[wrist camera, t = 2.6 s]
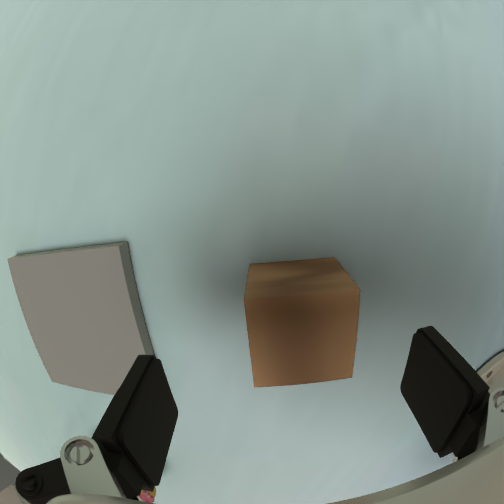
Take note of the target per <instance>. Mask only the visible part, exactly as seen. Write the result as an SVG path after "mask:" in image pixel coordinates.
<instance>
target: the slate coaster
mask: <svg viewBox="0 0 504 504" xmlns="http://www.w3.org/2000/svg"><path fill="white" fill-rule="evenodd" d="M8 263H9V267H10V271H11V275H12V279H13V283H14V286H15V290H16V293H17V296H18V300H19V303H20V306H21V309H22V312H23V315H24V318H25V320H26V323H27V326H28V329H29V331H30V334H31V336H32V339H33V341H34V344H35V346H36V348H37V351H38V353H39V355H40V357H41V360H42V362H43V364H44V366H45V368H46V370H47V372H48V374H49V376H50V378H51V380H52V382H55V383H59V384H63V385H67V386H71V387H76V388H80V389H85V390H90V391H95V392H100V393H105V394H111V395H115V394H116V392H117V390H118V389H119V388H120V386H121V384H122V383H123V381H124V379H125V377H126V375H127V374H128V372H129V370H130V368H131V367H132V365H133V363H134V361H135V360H136V358H137V356H138V355H154V352H153V349H152V345H151V342H150V338H149V335H148V331H147V328H146V324H145V320H144V316H143V312H142V308H141V304H140V300H139V296H138V292H137V287H136V283H135V278H134V273H133V268H132V263H131V258H130V253H129V247H128V242H119V243H110V244H101V245H93V246H84V247H76V248H67V249H59V250H51V251H44V252H36V253H28V254H21V255H16V256H13V257H11V258H9V259H8ZM154 356H155V355H154Z"/></svg>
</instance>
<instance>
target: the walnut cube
mask: <svg viewBox="0 0 504 504" xmlns="http://www.w3.org/2000/svg"><path fill="white" fill-rule="evenodd" d="M359 302H360V288H359V287H358V285H357V284H356V283H355V282H354V280H353V279H352V278H351V277H350V276H349V274H348V273H347V272H346V271H345V270H344V268H343V267H342V266H341V265H340V264H339V262H338V261H337V260H336V259H335V258H334V257H333V258H321V259H309V260H297V261H284V262H271V263H258V264H250V265H249V271H248V278H247V284H246V290H245V296H244V304H245V312H246V321H247V330H248V339H249V347H250V356H251V364H252V372H253V381H254V387H271V386H285V385H297V384H307V383H316V382H324V381H332V380H339V379H346V378H352V374H353V366H354V358H355V349H356V340H357V329H358V317H359Z"/></svg>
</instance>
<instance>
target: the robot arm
mask: <svg viewBox="0 0 504 504" xmlns="http://www.w3.org/2000/svg"><path fill="white" fill-rule="evenodd" d="M401 393H402V395H403V397H404V399H405V400H406V402H407V404H408V406H409V407H410V409H411V411H412V413H413V414H414V416H415V418H416V420H417V422H418V424H419V425H420V427H421V429H422V431H423V433H424V435H425V436H426V438H427V440H428V442H429V444H430V446H431V448H432V450H433V451H434V452H436V453H438V455H439V457H440V458H441V457H444V456H446V455H448V454H450V453H452V452H453V453H454V455H455V456H454V460H453V463H452V464H450V465H447V466H445V467H443V468H441V469H439V470H436V471H434V472H432V473H429V474H427V475H425V476H422V477H420V478H417V479H415V480H412V481H409V482H407V483H404V484H401V485H398V486H395V487H392V488H389V489H386V490H382V491H379V492H375V493H372V494H368V495H365V496H361V497H357V498H352V499H348V500H343V501H339V502H333V503H328V504H504V351H503V352H501V353H500V354H498V355H497V356H495V357H494V358H492V359H491V360H490V361H489V362H487V363H486V364H485V365H484V366H483V367H482V368H481V369H480V370H479V371H478V372H476V371H475V370H474V369H473V368H472V367H471V366H470V365H469V363H468V362H467V361H466V360H465V359H464V358H463V357H462V356H461V355H460V354H459V353H458V352H457V351H456V350H455V349H454V347H453V346H452V345H451V344H450V343H449V342H448V341H447V340H446V339H445V338H444V337H443V336H442V335H441V334H440V333H439V332H438V331H437V330H436V329H435V328H434V327H433V326H428V327H424V328H420V329H418V330H417V332H416V333H415V334H414V335H413V339H412V343H411V348H410V352H409V356H408V360H407V364H406V368H405V372H404V375H403V379H402V382H401ZM177 418H178V409H177V406H176V403H175V401H174V398H173V395H172V393H171V390H170V387H169V384H168V381H167V378H166V375H165V372H164V369H163V366H162V363H161V361H160V359H156V357H155V356H154V355H138V356H137V358H136V360H135V361H134V363H133V365H132V367H131V368H130V370H129V372H128V374H127V375H126V377H125V379H124V381H123V383H122V384H121V386H120V388H119V389H118V390H117V392H116V394H115V395H114V397H113V399H112V401H111V403H110V404H109V406H108V408H107V410H106V412H105V414H104V415H103V417H102V419H101V421H100V423H99V425H98V427H97V429H96V430H95V432H94V434H93V436H92V438H89V437H87V436H76V437H73V438H71V439H69V440H68V441H66V442H65V443H64V445H63V446H62V448H61V451H60V458H58V459H55V460H52V461H49V462H46V463H43V464H40V465H37V466H34V467H31V468H28V469H25V470H23V471H22V472H21V473H19V475H18V477H17V478H16V487H13V486H12V485H10V486H9V487H7V488H6V489H4V490H3V491H1V492H0V504H154V503H148V502H143V501H142V500H141V498H140V497H139V495H140V494H141V490H145V491H150V492H153V490H154V487H155V486H158V485H159V483H160V480H161V476H162V472H163V469H164V465H165V461H166V458H167V454H168V450H169V447H170V443H171V439H172V436H173V432H174V428H175V425H176V421H177Z"/></svg>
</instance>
